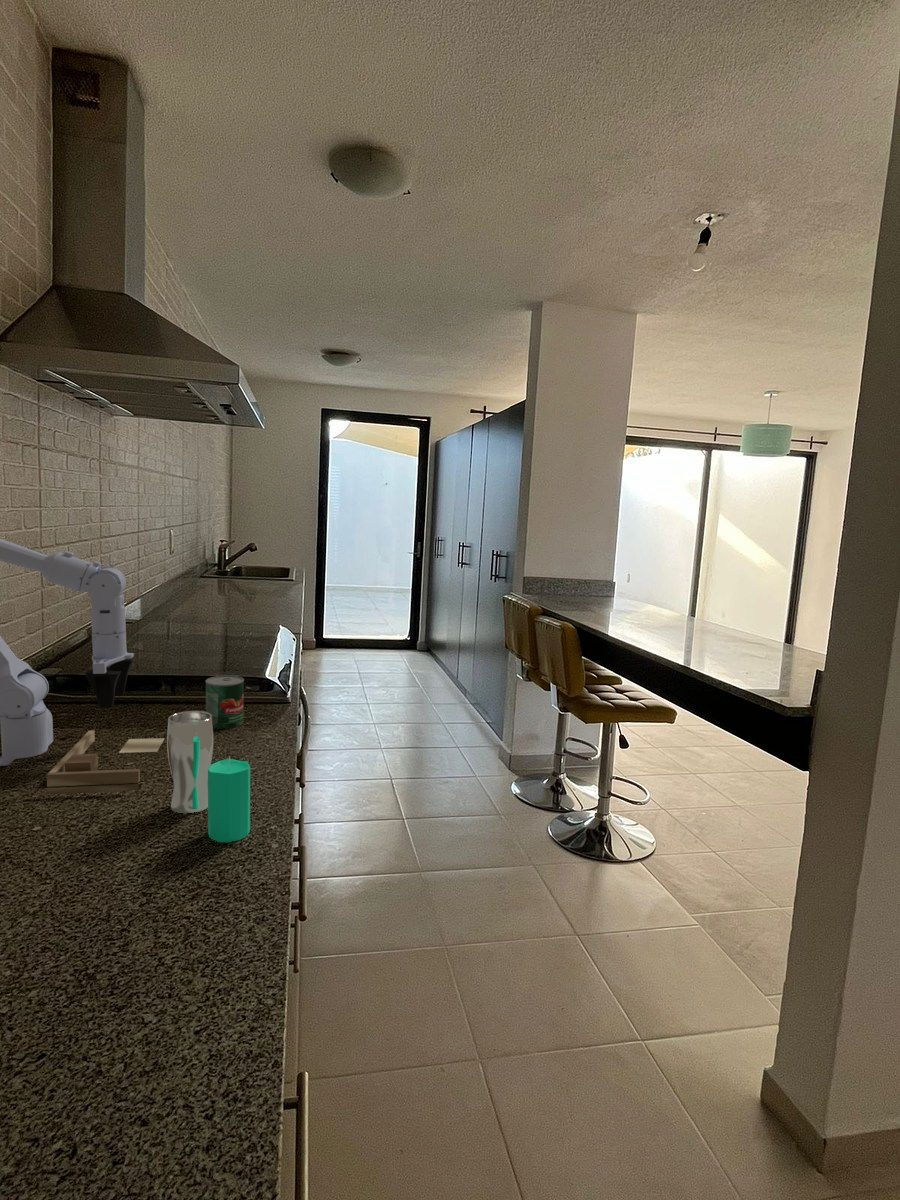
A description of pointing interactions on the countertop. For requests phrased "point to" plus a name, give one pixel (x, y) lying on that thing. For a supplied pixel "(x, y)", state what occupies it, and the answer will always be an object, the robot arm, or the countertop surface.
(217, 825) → the candle
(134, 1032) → the countertop surface
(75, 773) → the wooden flat frame
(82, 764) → the block
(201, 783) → the beer glass
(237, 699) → the canned tomato
